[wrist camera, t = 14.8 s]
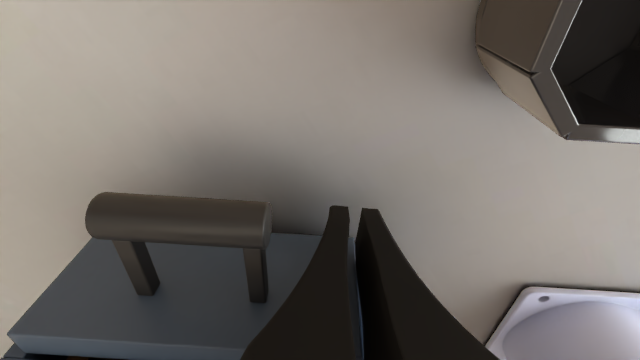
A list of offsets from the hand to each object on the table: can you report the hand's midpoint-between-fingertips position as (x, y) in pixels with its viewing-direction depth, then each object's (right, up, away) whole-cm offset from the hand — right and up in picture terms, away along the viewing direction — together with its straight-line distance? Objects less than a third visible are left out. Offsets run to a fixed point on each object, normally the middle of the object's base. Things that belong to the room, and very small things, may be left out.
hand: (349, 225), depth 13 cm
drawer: (-5, -4, +4) cm, 8 cm away
